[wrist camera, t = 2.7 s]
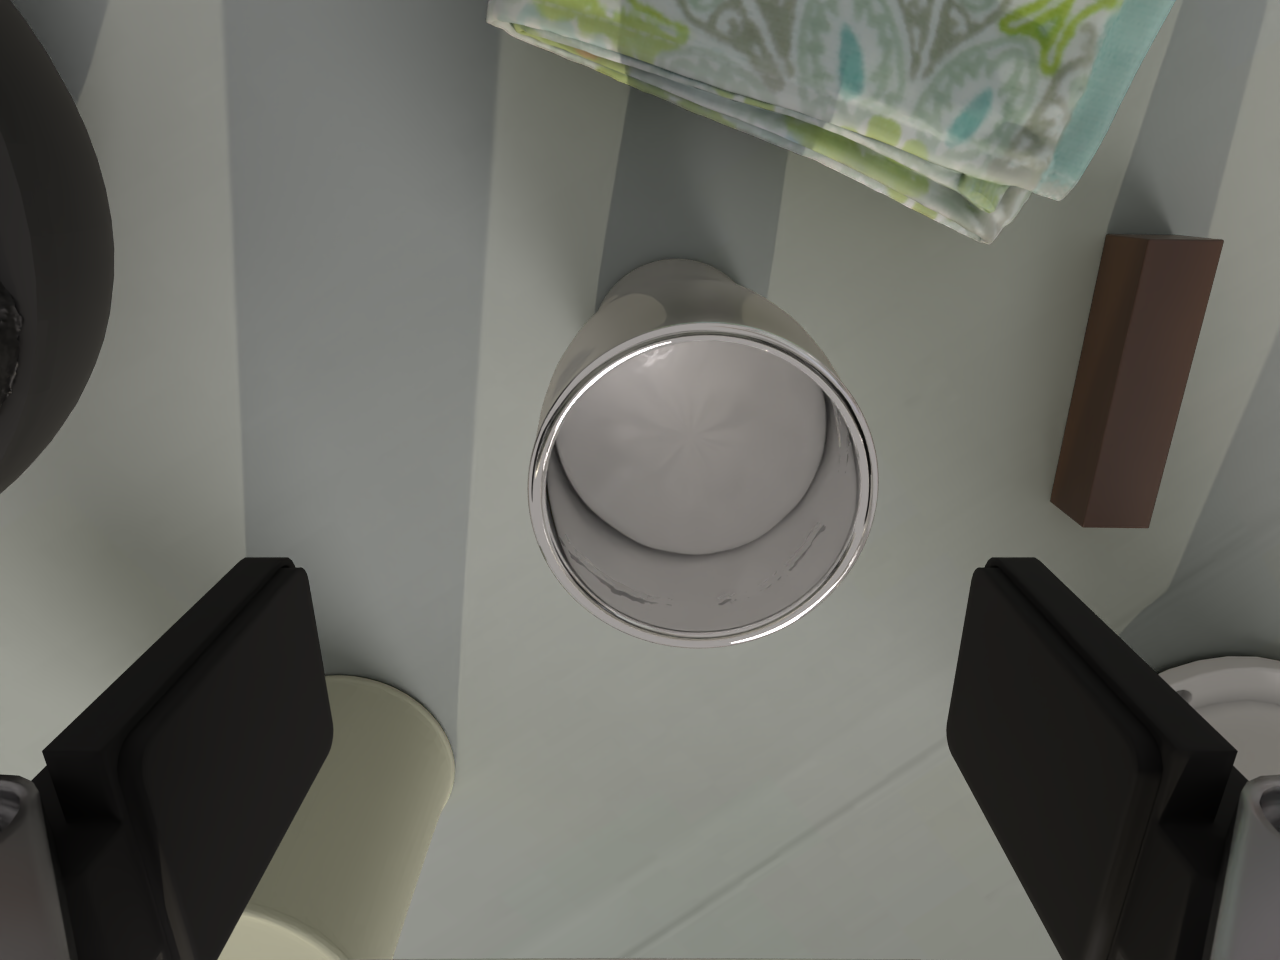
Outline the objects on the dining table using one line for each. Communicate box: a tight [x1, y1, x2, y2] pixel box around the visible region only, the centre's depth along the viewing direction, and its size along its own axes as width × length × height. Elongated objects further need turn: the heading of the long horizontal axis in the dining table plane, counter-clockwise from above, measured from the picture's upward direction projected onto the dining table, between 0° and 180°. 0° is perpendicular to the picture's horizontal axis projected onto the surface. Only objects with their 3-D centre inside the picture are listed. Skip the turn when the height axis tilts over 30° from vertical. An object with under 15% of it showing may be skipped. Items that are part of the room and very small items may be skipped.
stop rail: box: [1050, 234, 1224, 528], centre depth 28 cm, size 2×10×2 cm, turn 179°
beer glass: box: [527, 258, 878, 648], centre depth 22 cm, size 7×7×15 cm
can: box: [218, 675, 455, 960], centre depth 30 cm, size 9×9×12 cm
